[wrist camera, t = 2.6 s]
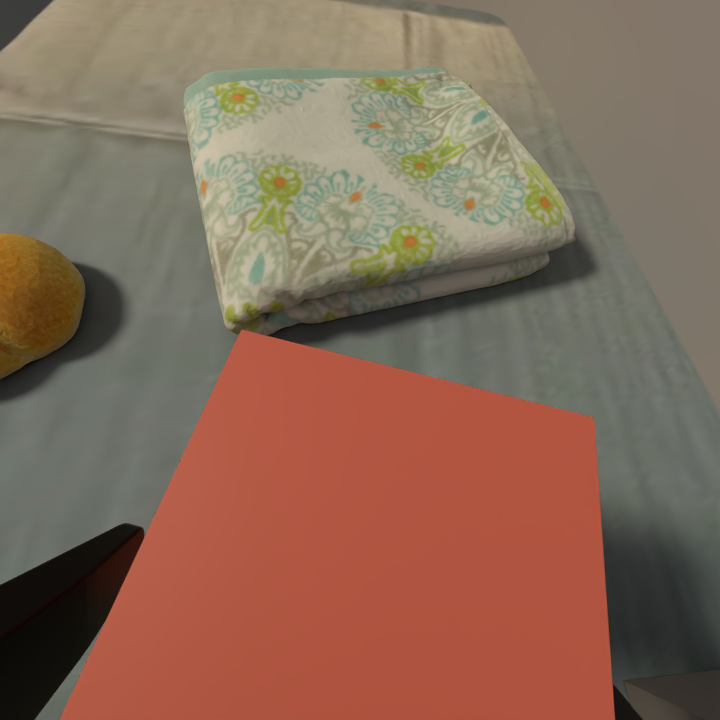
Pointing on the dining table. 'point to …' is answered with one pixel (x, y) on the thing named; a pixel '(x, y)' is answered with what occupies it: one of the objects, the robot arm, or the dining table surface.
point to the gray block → (676, 696)
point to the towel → (360, 192)
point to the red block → (363, 557)
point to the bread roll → (35, 301)
